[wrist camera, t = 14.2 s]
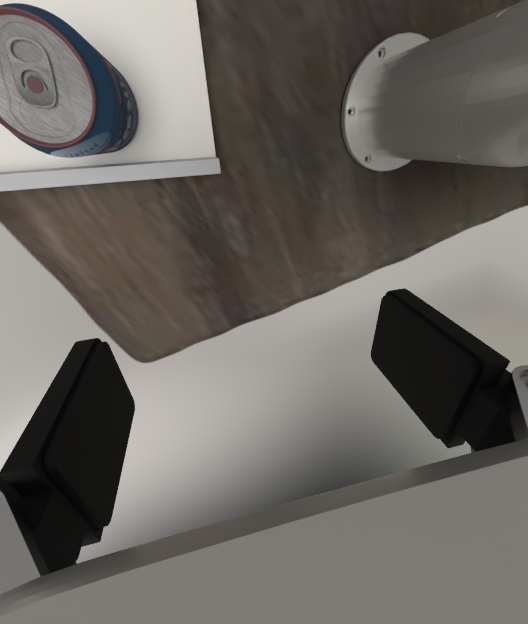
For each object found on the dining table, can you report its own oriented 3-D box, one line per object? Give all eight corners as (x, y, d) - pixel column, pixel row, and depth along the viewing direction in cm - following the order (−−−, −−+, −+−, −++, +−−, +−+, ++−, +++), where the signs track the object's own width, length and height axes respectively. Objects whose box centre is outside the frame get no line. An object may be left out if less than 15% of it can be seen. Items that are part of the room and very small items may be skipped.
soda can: (144, 156, 27) (117, 165, 17) (63, 148, 25) (-20, 153, 15) (135, 62, 23) (93, 5, 14) (40, 46, 22) (-88, -33, 12)
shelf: (189, -32, 23) (188, -89, 18) (215, 167, 31) (220, 173, 26) (-88, -41, 20) (-200, -114, 15) (19, 182, 28) (-25, 193, 23)
